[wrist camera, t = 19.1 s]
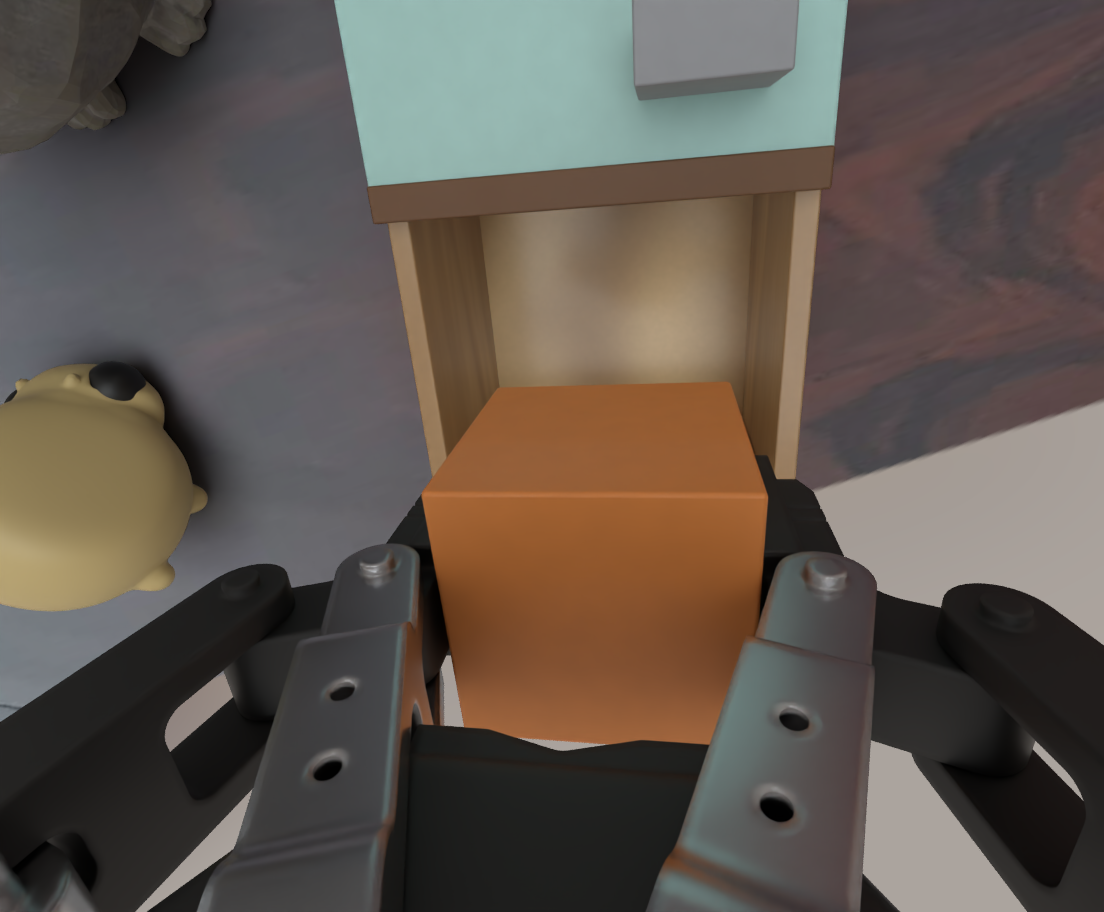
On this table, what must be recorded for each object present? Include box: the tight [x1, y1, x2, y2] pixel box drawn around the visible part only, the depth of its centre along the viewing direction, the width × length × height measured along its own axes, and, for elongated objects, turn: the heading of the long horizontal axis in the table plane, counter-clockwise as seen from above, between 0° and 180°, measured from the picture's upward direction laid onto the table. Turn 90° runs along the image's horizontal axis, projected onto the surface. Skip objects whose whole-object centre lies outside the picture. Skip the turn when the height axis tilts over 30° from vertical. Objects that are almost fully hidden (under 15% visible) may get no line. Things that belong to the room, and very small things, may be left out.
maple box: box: [388, 190, 821, 479], centre depth 23 cm, size 12×14×9 cm
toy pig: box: [0, 362, 208, 611], centre depth 31 cm, size 10×12×11 cm
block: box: [422, 382, 768, 745], centre depth 11 cm, size 5×5×5 cm
